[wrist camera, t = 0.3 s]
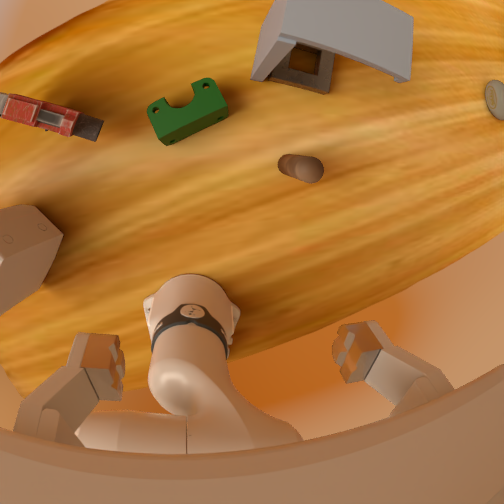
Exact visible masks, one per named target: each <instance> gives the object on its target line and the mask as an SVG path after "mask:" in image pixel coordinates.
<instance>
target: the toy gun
mask: <svg viewBox="0 0 504 504" xmlns="http://www.w3.org/2000/svg"><path fill="white" fill-rule="evenodd" d="M0 117H1V118H3V119H7V120H11V121H15V122H19V123H22V124H26V125H29V126H33V127H40V128H43V129H45V131H48V130H50V131H54V132H57V133H59V134H61V135H64V136H67V137H70V136H72V135H75V136H78V137H82V138H85V139H88V140H91V141H94V142H96V140H97V137H98V135H99V133H100V130H101V127H102V125H103V122H104V121H103V120H100V119H97V118H94V117H91V116H88V115H85V114H83V112H80V111H77V110H73V109H70V108H67V107H62V106H59V105H56V104H52V103H49V102H45V101H40V100H36V99H32V98H29V97H26V96H22V95H17V94H10V93H9V94H6V93H1V92H0Z"/></svg>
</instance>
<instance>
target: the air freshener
mask: <svg viewBox="0 0 504 504" xmlns="http://www.w3.org/2000/svg"><path fill="white" fill-rule="evenodd" d="M485 96H486V102H487V105H488V108H489V109H490V111H491V113H492V114H493V115H494V116H495V117H496V118H497V119H499V120H504V84H503V83H502V82H500V81H498V80H492V81H490V82H489V83H488V84H487V87H486V91H485Z"/></svg>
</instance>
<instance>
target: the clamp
mask: <svg viewBox="0 0 504 504" xmlns="http://www.w3.org/2000/svg"><path fill="white" fill-rule="evenodd" d="M191 86H192V88H193V91H194V94H195V96H194V98H193V100H192V101H191V103H190V104H188V105H187V106H185V107H182V108H172V107H170V105H169V104H168V102H167V101H166V99H165V98H164V97H163V98H161V99H159V100H157V101H155V102H154V103H152V104H151V105H149V107H148V109H147V114H148V117H149V119H150V121H151V123H152V126H153V128H154V130H155V133H156V135H157V137H158V139H159V140H160V141H161V142H162V143H163V144H164V145H166V146H168V145H172V144H174V143H176V142H178V141H180V140H182V139H184V138H186V137H188V136H190V135H192V134H194V133H196V132H198V131H200V130H202V129H204V128H206V127H209V126H211V125H213V124H215V123H217V122H219V121H222V120H224V119H225V118H226V117H228V115H229V114H228V106H227V104H226V102H225V100H224V98H223V96H222V94H221V92H220V90H219V89H218V87H217V85H216V83H215V81H214V80H213V79H211V78H203V79H201V80H199V81H196V82H194V83H192V84H191ZM206 86H209V88H207V89H204V87H206ZM156 110H159V112H158V113H155V111H156Z"/></svg>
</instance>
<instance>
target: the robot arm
mask: <svg viewBox="0 0 504 504" xmlns="http://www.w3.org/2000/svg"><path fill="white" fill-rule="evenodd" d="M143 306H144V311H145V315H146V320H147V324H148V329H149V333H150V337H151V343H152V345H151V350H152V358H151V363H150V368H149V374H148V384H149V387H150V390H151V392H152V394H153V396H154V397H155V399H156V400H157V401H158V402H159V404H160V405H161V406H162V407H163V408H164V409H166V410H167V411H169V412H170V413H172V414H174V415H169V414H159V413H149V412H140V411H133V410H104V411H92V410H93V409H94V407H95V406H96V405H97V404H98V402H99V400H111V401H121V400H122V391H123V384H122V382H121V379H122V378H123V377H124V374H125V359H124V354H123V351H122V350H121V349H119V348H120V340H119V336H118V335H110V334H96V333H81V332H79V333H78V334H77V335H76V337H75V340H74V343H73V346H72V349H71V352H70V355H69V358H68V361H67V365H66V366H62V367H61V368H59V369H58V370H57V371H56V372H55V373H54V374H53V375H51V376H50V377H49V378H48V379H47V380H46V381H44V382H43V383H42V384H41V385H40V386H39V387H38V388H36V389H35V390H34V391H33V392H32V393H31V394H30V395H28V396H27V397H26V398H25V399H24V400H23V401H22V402H21V404H20V408H19V411H18V415H17V418H16V422H15V426H14V430H13V431H10V430H7V429H4V428H1V427H0V504H504V364H502V365H499V366H497V367H496V368H494V369H492V370H491V371H489V372H487V373H486V374H484V375H482V376H480V377H478V378H477V379H475V380H473V381H471V382H469V383H467V384H465V385H463V386H461V387H459V388H458V389H454V388H453V386H452V385H451V384H450V382H449V381H448V379H447V378H446V377H445V375H444V374H443V373H442V371H441V370H440V369H438V368H437V367H435V366H433V365H431V364H429V363H427V362H426V361H424V360H422V359H420V358H418V357H417V356H415V355H413V354H411V353H409V352H407V351H406V350H404V349H402V348H400V347H398V346H394V345H393V344H392V342H391V341H390V339H389V338H388V337H387V335H386V334H385V332H384V331H383V330H382V328H381V327H380V326H379V324H378V323H377V322H376V321H375V320H371V321H365V322H358V323H351V324H344V325H341V326H340V327H339V329H338V332H337V333H338V335H339V336H338V338H336V339H335V340H334V342H333V345H332V355H333V359H334V361H335V363H337V364H338V365H340V366H341V369H340V373H341V375H342V376H343V379H344V380H345V382H346V383H352V382H358V381H362V380H364V381H365V382H366V383H367V384H369V385H370V386H371V387H372V388H374V389H375V390H376V391H377V392H379V393H380V394H381V395H383V396H384V397H385V398H386V399H388V400H389V401H390V402H392V403H393V404H394V405H396V407H395V409H394V410H393V411H392V412H391V414H390V417H388V418H386V419H383V420H379V421H376V422H374V423H370V424H367V425H364V426H360V427H357V428H354V429H350V430H347V431H343V432H339V433H335V434H331V435H327V436H323V437H319V438H314V439H310V440H305V441H304V440H303V439H302V437H301V435H300V434H299V433H298V432H297V430H296V429H295V428H294V427H292V426H291V425H290V424H289V423H287V422H285V421H282V420H279V419H276V418H274V417H272V416H270V415H268V414H266V413H264V412H262V411H261V410H259V409H258V408H256V407H255V406H253V405H252V404H251V403H250V402H248V401H247V400H246V399H245V398H244V397H243V396H242V395H241V394H240V393H239V392H238V390H236V388H235V387H234V385H233V383H232V382H231V379H230V375H229V371H228V367H227V362H226V360H227V358H228V356H229V352H230V349H229V348H228V345H231V344H232V341H233V338H231V336H232V335H233V334H234V329H235V326H236V324H237V322H238V319H239V317H240V309H239V308H238V307H237V306H236V305H235V304H233V303H232V302H231V301H230V300H229V299H228V297H227V295H226V293H225V292H224V290H223V289H222V288H221V287H220V286H219V285H218V284H217V283H216V282H214V281H213V280H211V279H209V278H207V277H204V276H201V275H195V274H186V275H180V276H177V277H174V278H172V279H170V280H169V281H167V282H166V283H165V284H164V285H163V286H162V287H161V288H160V289H159V290H158V291H157V292H156V293H155V294H152V295H150V296H148V297H147V298H145V299H144V303H143ZM149 308H150V309H149ZM233 317H234V318H233Z"/></svg>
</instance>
